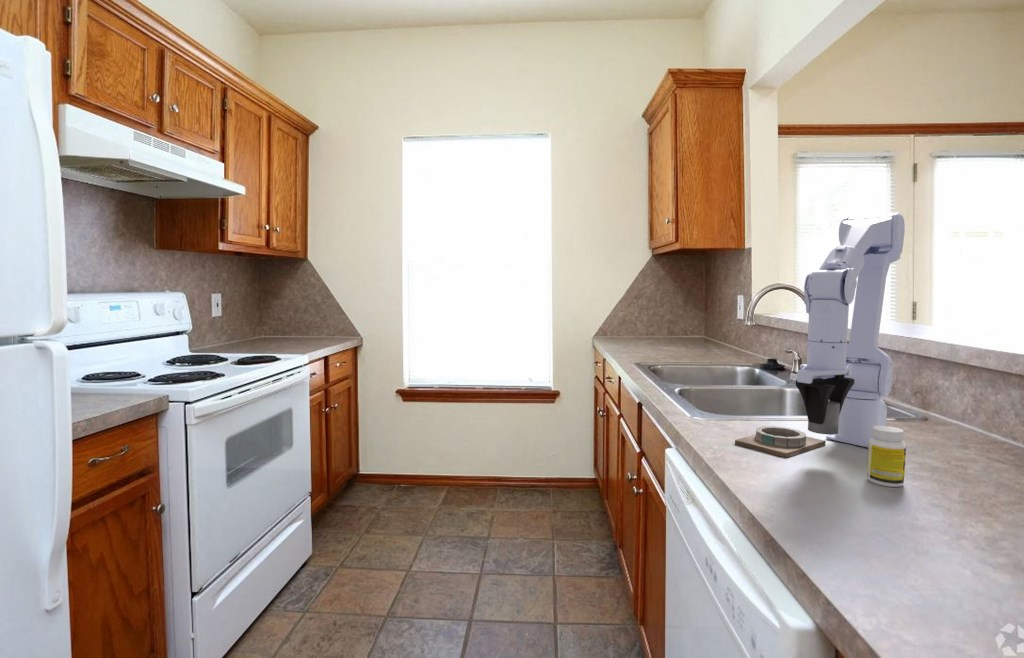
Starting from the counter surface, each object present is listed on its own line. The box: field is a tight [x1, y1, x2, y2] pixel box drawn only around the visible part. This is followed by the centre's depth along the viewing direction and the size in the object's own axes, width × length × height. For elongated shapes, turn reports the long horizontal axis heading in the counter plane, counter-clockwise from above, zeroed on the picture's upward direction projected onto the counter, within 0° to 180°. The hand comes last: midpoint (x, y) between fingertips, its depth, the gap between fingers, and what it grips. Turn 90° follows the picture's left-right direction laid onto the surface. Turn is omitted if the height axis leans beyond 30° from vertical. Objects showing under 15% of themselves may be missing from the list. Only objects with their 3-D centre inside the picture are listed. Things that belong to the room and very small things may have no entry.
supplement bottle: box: [866, 425, 907, 488], centre depth 83 cm, size 5×5×8 cm
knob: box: [807, 399, 840, 436], centre depth 92 cm, size 4×4×5 cm
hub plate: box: [734, 425, 827, 458], centre depth 103 cm, size 14×10×2 cm
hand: (823, 420), depth 92 cm, fingers closed on knob, 4 cm apart
